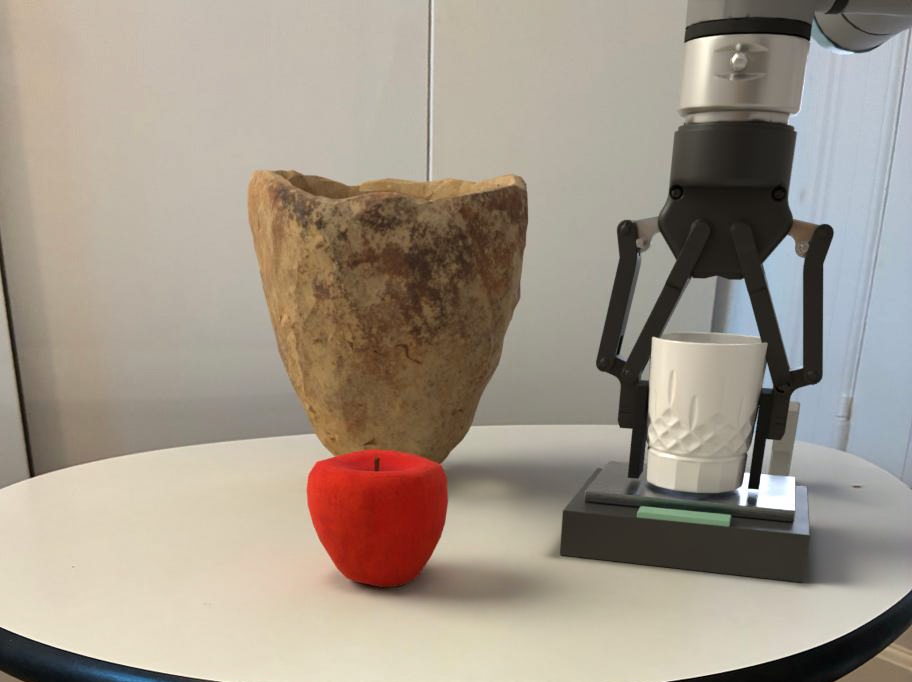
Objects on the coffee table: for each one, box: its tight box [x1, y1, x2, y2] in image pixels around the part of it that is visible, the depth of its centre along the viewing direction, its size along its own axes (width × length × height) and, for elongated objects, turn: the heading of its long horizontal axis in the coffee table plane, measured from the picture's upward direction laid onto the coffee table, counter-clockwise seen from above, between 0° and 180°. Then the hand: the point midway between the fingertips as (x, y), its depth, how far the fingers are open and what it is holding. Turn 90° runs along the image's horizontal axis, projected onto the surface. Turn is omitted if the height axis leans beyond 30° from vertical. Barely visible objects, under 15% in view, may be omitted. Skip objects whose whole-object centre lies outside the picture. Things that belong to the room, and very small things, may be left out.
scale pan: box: [584, 460, 796, 522], centre depth 74 cm, size 14×10×1 cm
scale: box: [559, 467, 811, 583], centre depth 74 cm, size 16×14×4 cm
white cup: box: [646, 331, 768, 493], centre depth 71 cm, size 8×8×10 cm
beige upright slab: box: [767, 400, 801, 477], centre depth 88 cm, size 7×2×8 cm, turn 161°
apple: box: [306, 449, 449, 588], centre depth 64 cm, size 9×9×8 cm
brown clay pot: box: [247, 169, 529, 465], centre depth 86 cm, size 22×22×25 cm
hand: (693, 479), depth 73 cm, fingers closed on white cup, 8 cm apart
